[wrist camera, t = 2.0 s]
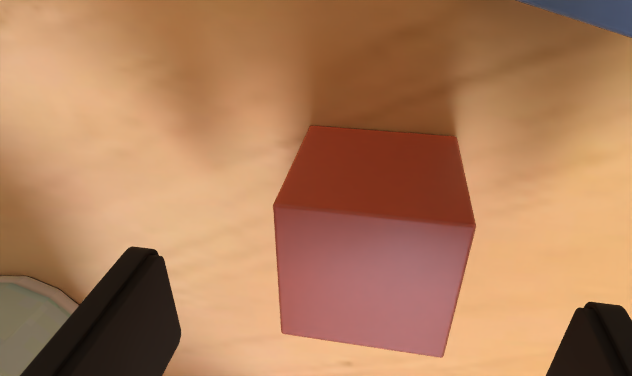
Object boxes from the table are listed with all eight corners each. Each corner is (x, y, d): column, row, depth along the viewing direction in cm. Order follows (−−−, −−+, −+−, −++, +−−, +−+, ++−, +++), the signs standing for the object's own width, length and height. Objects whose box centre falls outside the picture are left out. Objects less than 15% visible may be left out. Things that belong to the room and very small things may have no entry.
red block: (309, 124, 13) (272, 204, 10) (457, 135, 13) (477, 225, 9) (310, 236, 16) (280, 334, 12) (435, 250, 15) (443, 359, 11)
